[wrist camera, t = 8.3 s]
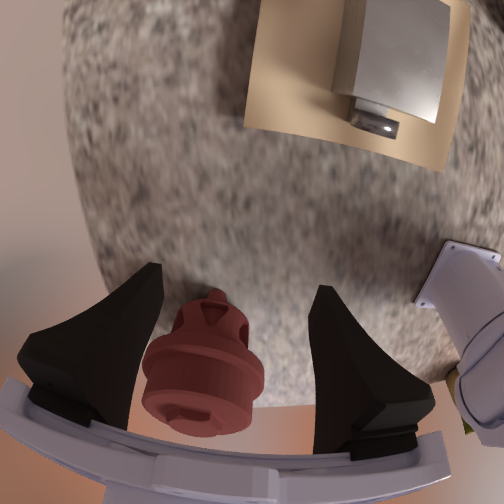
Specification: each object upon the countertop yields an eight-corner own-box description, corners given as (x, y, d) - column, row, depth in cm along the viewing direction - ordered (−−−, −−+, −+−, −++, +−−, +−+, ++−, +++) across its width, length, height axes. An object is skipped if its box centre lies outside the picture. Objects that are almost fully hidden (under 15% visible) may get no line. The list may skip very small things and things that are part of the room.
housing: (414, -1, 10) (450, -16, 6) (392, 135, 15) (427, 152, 11) (347, -26, 9) (371, -53, 6) (326, 117, 15) (345, 128, 11)
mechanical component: (166, 334, 30) (165, 263, 25) (254, 350, 31) (276, 284, 25) (137, 433, 20) (114, 382, 14) (249, 453, 20) (278, 413, 15)
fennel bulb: (465, 356, 32) (490, 418, 22) (474, 362, 34) (497, 419, 24) (438, 377, 35) (457, 438, 25) (448, 381, 36) (467, 438, 26)
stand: (452, 9, 10) (470, 5, 8) (426, 163, 18) (442, 173, 16) (272, -51, 10) (273, -66, 8) (246, 121, 18) (243, 126, 16)
